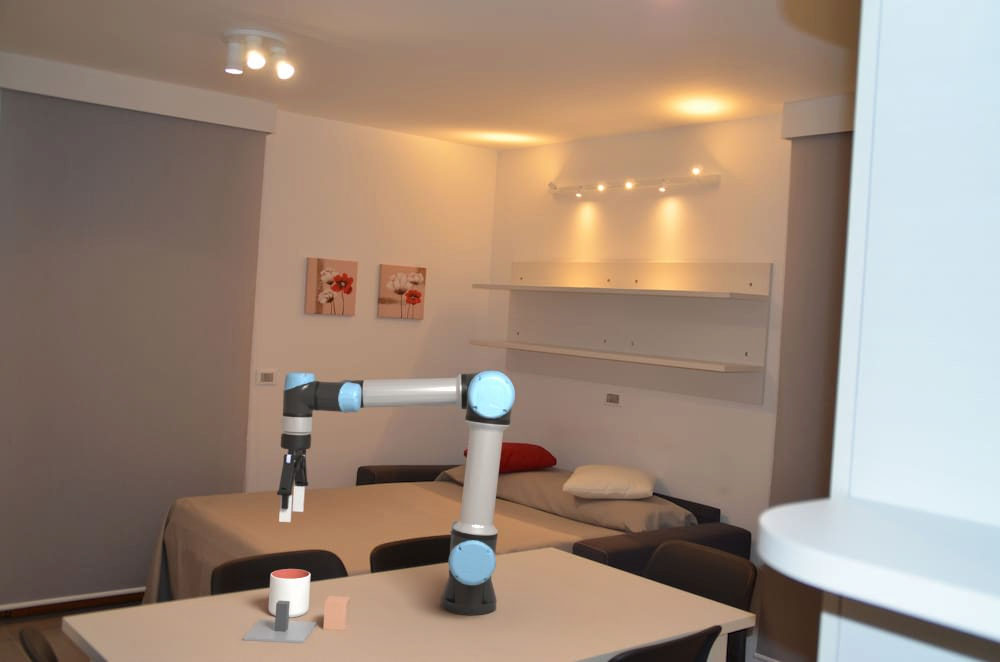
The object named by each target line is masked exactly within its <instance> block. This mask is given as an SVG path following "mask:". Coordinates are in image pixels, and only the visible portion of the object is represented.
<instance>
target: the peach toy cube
mask: <svg viewBox="0 0 1000 662" xmlns="http://www.w3.org/2000/svg"><path fill="white" fill-rule="evenodd" d="M350 600H351V597H350V596H340V595H339V596H338V595H336V596H334V595H328V597H327V598H326V599H325V601H324V611H323V612H324V614H323V630H330V631H331V630H332V631H346V629H347V627H348V625H349V619H350V603H351V602H350Z"/></svg>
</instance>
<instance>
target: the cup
mask: <svg viewBox="0 0 1000 662" xmlns="http://www.w3.org/2000/svg"><path fill="white" fill-rule="evenodd" d="M311 574H312V573H310V572H309V571H307V570H304V569H297V568H287V569H285V568H283V569H278V570H274V571H273V572H271V573H270V576H269V577H270V578H269V596H268V597H269V598H268V612H269V613H270V614H271V615H272V616H274V617H275V616H276V603H277V602H278V601H290V605H289V619H290V618H297V617H298V618H299V617H301V616H304V615H306V614H307V613H308V611H309V608H310V605H309V604H310V591H311V589H310V588H311Z"/></svg>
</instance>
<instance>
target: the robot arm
mask: <svg viewBox="0 0 1000 662" xmlns="http://www.w3.org/2000/svg"><path fill="white" fill-rule="evenodd" d="M283 387H284V388H283V390H282V391H283V394H282V395H283V398H282V399H283V400H282V418H281V419H280V420H279V422H280V423H281V431H282V432H283V433H282V432H281V434H280V436H281V437H280V448H282V449H283V450H284V449H285V450H287V454H286V453H285V454H283V455H284V456H283V463H282V469H281V476H280V482H279V487H278V491H277V492H276V495H277V496H280V497H279V499H280V501H279V515H278V517H279V518H278V521H279V522H281V523H282V522H283V523H291V522H292V521H291V520H292V512H300V513H303V512H304V510H305V509H304V507H305V506H304V505H305V489H306V488H305V487H308V486H309V481H308V472H307V450H309V449H311V447H312V435H311V434H310V433H311V432H312V431H313V415H314V414H313V413H314V411H316V412H318V411H321V412H322V411H323V412H336V413H337V412H340V413H345V414H348V413H358V412H359V411H360V409H363V408H365V409H366V408H400V407H401V408H406V407H407V408H408V407H410V408H412V407H453V406H455V407H456V406H457V407H458V409H460V410H465V418H464V421H465V423H466V424H467V425H468V426H469V436H468V442H467V443H468V445H467V452H466V454H467V455H466V462H465V469H464V471H465V472H464V479H463V488H462V498H461V505H460V512H459V513H460V514H459V519H458V520H457V521H456V520H455V521H454V522H453V523H451V529H450V546H449V547H450V548H449V556H448V562H447V563H448V569H449V570H448V578H447V582H446V583H445V587H444V589H443V592H442V594H441V596H440V597H441V598H440V607H441V608H442V609H443V610H445V611H447V612H450V613H453V614H456V615H457V614H458V615H466V616H468V615H469V616H471V615H472V616H476V615H485V614H490V613H493V612H494V611H496V609H497V595H496V592H495V589H494V583H493V579H492V575H493V574H494V572H495V569H496V567H497V558H496V557H497V556H496V553H497V543H498V535H499V534H498V533H499V531H498V529H497V528H496V526H495V525H494V517H495V508H496V498H497V490H498V482H499V474H500V473H499V471H500V462H501V455H502V448H503V447H502V446H503V437H504V431H505V430H507V429H508V428H509V427H510V426H511V420H512V419H511V418H512V410H513V406H514V402H515V397H516V394H515V393H516V392H515V388H514V385H513V383H512V381H511V379H510V378H509V377H508V376H507V375H506V374H504V373H503V372H501V371H498V370H495V369H494V370H493V369H486V370H482V371H478V372H472V373H459V374H458V375H457V376H456V377H437V378H436V377H435V378H395V379H392V378H391V379H362V380H361V379H360V380H359V379H358V380H357V379H354V380H353V379H341V380H340V381H339V380H338V381H319V380H316V379H315V373H312V372H300V371H299V372H296V371H295V372H288V373H286V375H285V377H284V386H283ZM294 484H295V485H294ZM292 491H293V494H292Z"/></svg>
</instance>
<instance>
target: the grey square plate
mask: <svg viewBox="0 0 1000 662" xmlns="http://www.w3.org/2000/svg"><path fill="white" fill-rule="evenodd" d="M289 605H290V601H278V602H277V603H276V616H274V617H275V619H267V618H265V619H263V618H259V620H257V622H256V623H255V624H254V625H253V627H252V628H251V629H250V630H249V631H247V634H246V635H245V636H244V637H243V641H256V642H270V643H271V642H272V643H274V642H275V643H293V644H295V643H296V644H305V642H306V641H307V639H308V638H309V637H310V635H311V633H312V632H313V630H314V629H315V627H316V626H317V624H318V622H317V621H304V620H303V621H301V620H290V618H289Z"/></svg>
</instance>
